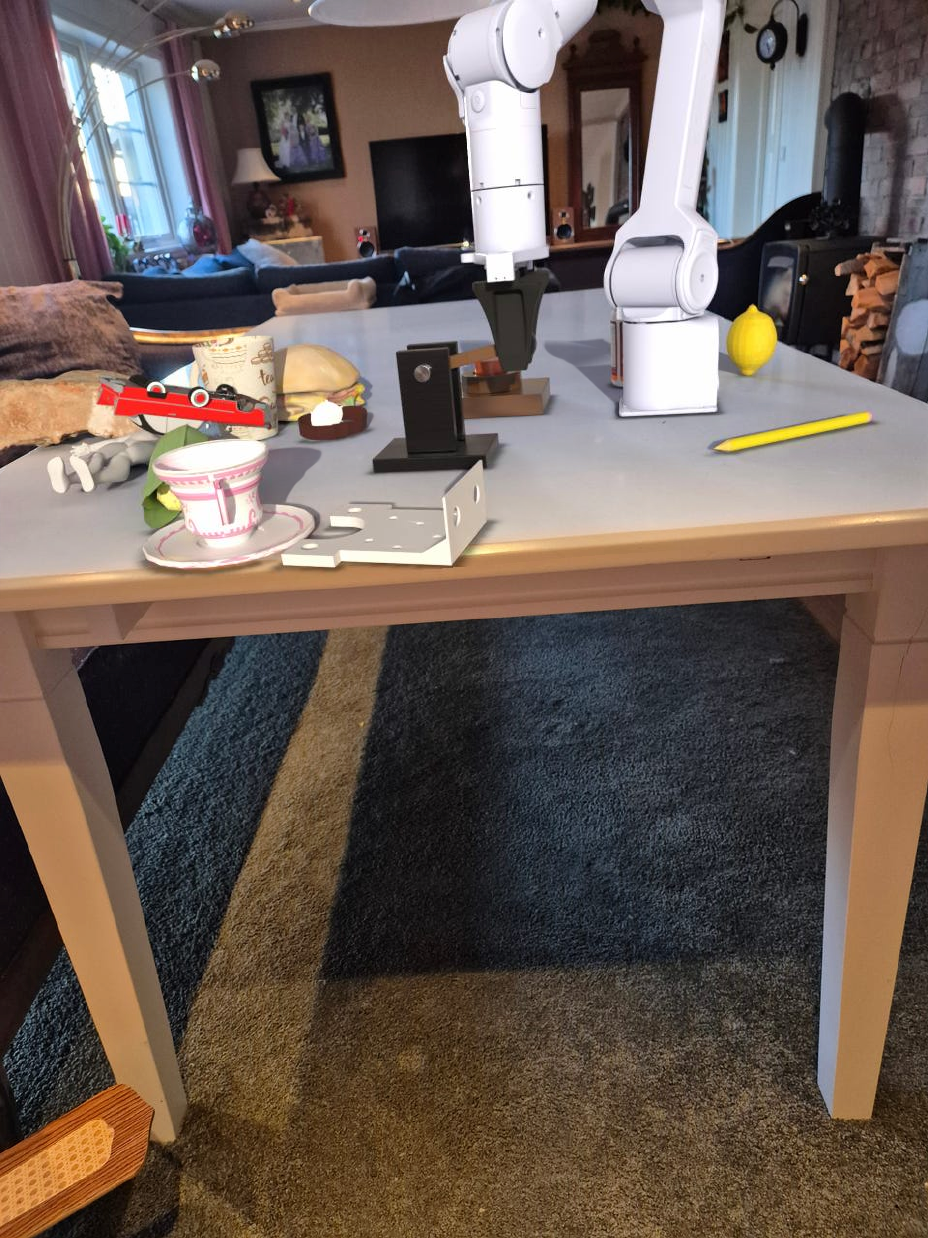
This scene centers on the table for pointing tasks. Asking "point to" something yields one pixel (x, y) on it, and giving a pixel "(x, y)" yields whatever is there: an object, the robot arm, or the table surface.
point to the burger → (313, 380)
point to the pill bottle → (616, 350)
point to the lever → (481, 354)
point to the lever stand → (433, 416)
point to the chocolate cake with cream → (332, 421)
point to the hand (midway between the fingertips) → (517, 366)
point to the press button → (488, 367)
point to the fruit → (751, 340)
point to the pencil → (794, 431)
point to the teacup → (221, 508)
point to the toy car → (176, 404)
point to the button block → (503, 394)
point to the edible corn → (156, 492)
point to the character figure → (105, 460)
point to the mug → (240, 378)
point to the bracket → (401, 531)
